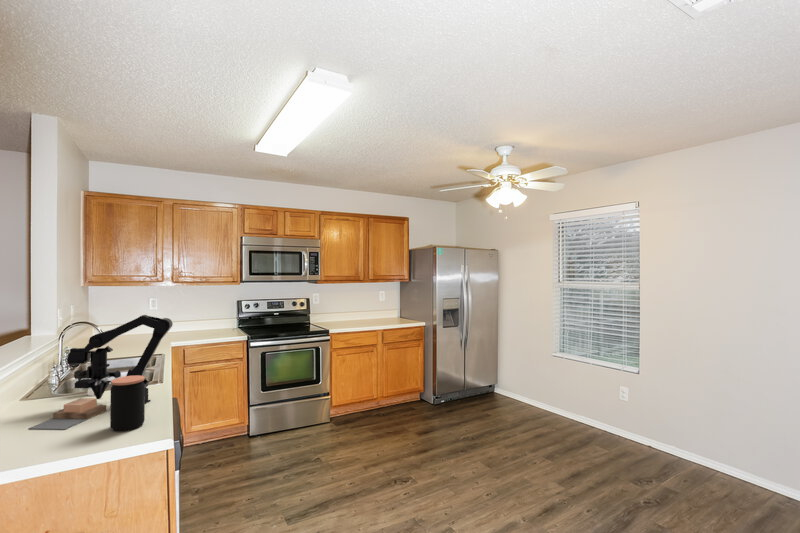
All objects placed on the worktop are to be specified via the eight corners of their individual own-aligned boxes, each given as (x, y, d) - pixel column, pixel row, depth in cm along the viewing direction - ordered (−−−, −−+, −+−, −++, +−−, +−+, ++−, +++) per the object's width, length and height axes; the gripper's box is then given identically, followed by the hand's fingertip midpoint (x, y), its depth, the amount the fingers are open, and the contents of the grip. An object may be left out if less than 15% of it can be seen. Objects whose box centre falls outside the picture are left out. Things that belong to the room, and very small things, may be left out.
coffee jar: (151, 423, 155) (151, 376, 155) (124, 434, 145) (124, 384, 145) (131, 420, 159) (131, 374, 159) (103, 430, 149) (103, 381, 149)
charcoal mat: (86, 419, 159) (86, 418, 159) (64, 429, 149) (64, 428, 149) (52, 419, 159) (52, 418, 159) (28, 429, 149) (28, 428, 149)
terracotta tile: (96, 405, 168) (96, 398, 168) (80, 412, 160) (80, 404, 160) (80, 405, 168) (80, 398, 168) (63, 412, 160) (63, 404, 160)
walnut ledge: (106, 411, 169) (106, 405, 169) (86, 419, 159) (86, 413, 159) (74, 410, 169) (74, 404, 169) (52, 419, 159) (52, 413, 159)
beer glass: (94, 396, 188) (94, 364, 188) (82, 395, 189) (82, 363, 189) (108, 392, 194) (108, 361, 195) (96, 391, 196) (96, 360, 196)
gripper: (98, 357, 183) (97, 392, 183) (61, 367, 165) (61, 406, 164) (121, 358, 183) (121, 392, 183) (88, 368, 164) (87, 406, 164)
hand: (98, 399), depth 173 cm, fingers closed
